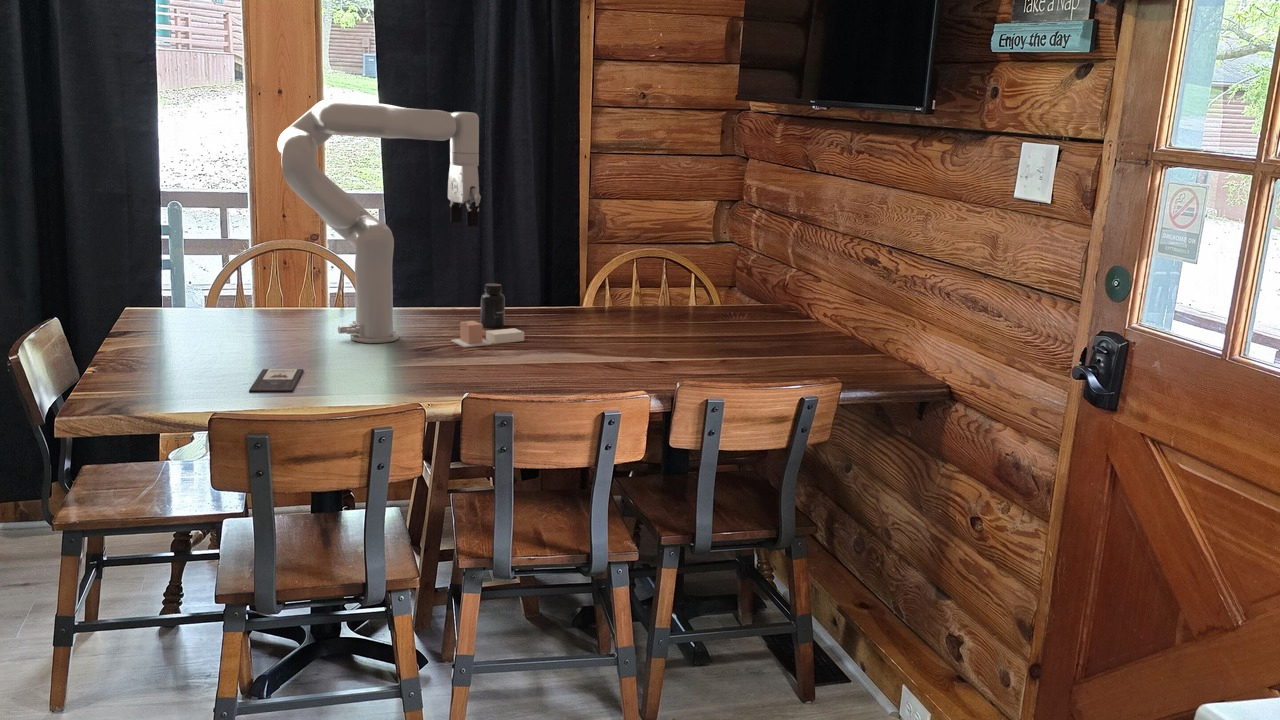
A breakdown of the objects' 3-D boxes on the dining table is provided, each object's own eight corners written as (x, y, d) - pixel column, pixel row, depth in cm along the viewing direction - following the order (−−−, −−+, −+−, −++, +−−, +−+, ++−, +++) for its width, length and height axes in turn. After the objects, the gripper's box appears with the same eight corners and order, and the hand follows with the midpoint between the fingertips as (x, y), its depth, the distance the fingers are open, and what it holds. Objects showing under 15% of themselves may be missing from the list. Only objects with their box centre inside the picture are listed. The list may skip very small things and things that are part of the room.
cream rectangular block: (494, 343, 281) (494, 334, 280) (485, 340, 284) (486, 330, 284) (524, 340, 286) (524, 331, 285) (515, 337, 290) (515, 327, 289)
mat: (464, 347, 275) (464, 346, 275) (451, 341, 281) (451, 339, 281) (491, 344, 280) (492, 343, 280) (478, 338, 286) (478, 337, 286)
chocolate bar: (249, 390, 226) (262, 369, 244) (249, 394, 227) (263, 373, 244) (292, 390, 228) (303, 369, 245) (292, 394, 228) (303, 373, 245)
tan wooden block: (468, 344, 277) (468, 325, 276) (460, 340, 281) (460, 321, 280) (482, 342, 280) (482, 323, 278) (473, 338, 283) (474, 320, 282)
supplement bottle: (502, 328, 299) (503, 287, 296) (478, 327, 299) (478, 286, 296) (506, 323, 306) (506, 283, 303) (482, 322, 306) (483, 282, 303)
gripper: (437, 157, 284) (437, 220, 288) (465, 161, 271) (465, 228, 275) (462, 157, 288) (462, 219, 293) (492, 162, 275) (491, 227, 279)
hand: (464, 224), depth 284 cm, fingers open, 9 cm apart
